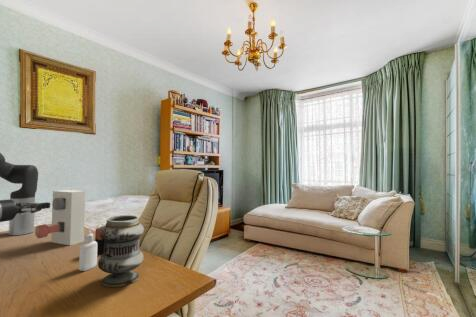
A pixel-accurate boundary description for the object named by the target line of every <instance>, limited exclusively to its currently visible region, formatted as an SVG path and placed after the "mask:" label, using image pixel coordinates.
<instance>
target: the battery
mask: <svg viewBox="0 0 476 317" xmlns="http://www.w3.org/2000/svg"><path fill="white" fill-rule="evenodd" d="M104 226H105V225H104ZM104 226H103V225H102V226H99V228H95V231H94V232H95V235H94V236H95V238H94V241H96V242H97V255H99V256H102V255H103V253H104V240H103V239H102V238H101V237H100V230H101V229H102V228H103V227H104Z"/></svg>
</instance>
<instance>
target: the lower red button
mask: <svg viewBox="0 0 476 317" xmlns="http://www.w3.org/2000/svg"><path fill="white" fill-rule="evenodd" d="M59 227H60V225H52V224H51V225H47V224H39V225H37V226H36V227H35V228H34V232H35V233H34V234H35V237H36V238H37V239H42V238H46V237H48V235H49V234H51V233H53V232H58V231H59Z"/></svg>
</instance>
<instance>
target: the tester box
mask: <svg viewBox="0 0 476 317" xmlns="http://www.w3.org/2000/svg"><path fill="white" fill-rule="evenodd" d="M55 198H63V199H64V200H65V207H64V209H61V210H55V209H54V208H53V205H52V208H51V209H52V210H51V226H52V225H60V227H59V231H58V232H53V233H50V240H51V241H50V242H51V243H55V244H60V245H66V246H72V245H73V246H74V245H77V244H80V243H81V244H82V243H85V217H86V216H85V214H86V213H85V212H86V191H85V190H76V189H75V190H72V189H61V190H52V201H53V200H54V199H55Z"/></svg>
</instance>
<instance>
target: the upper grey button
mask: <svg viewBox="0 0 476 317" xmlns="http://www.w3.org/2000/svg"><path fill="white" fill-rule="evenodd" d="M52 205H53V208H54V209H55V210H61V209H64V207H65V200H64V199H63V198H55V199H54V200H53V199H52Z"/></svg>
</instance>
